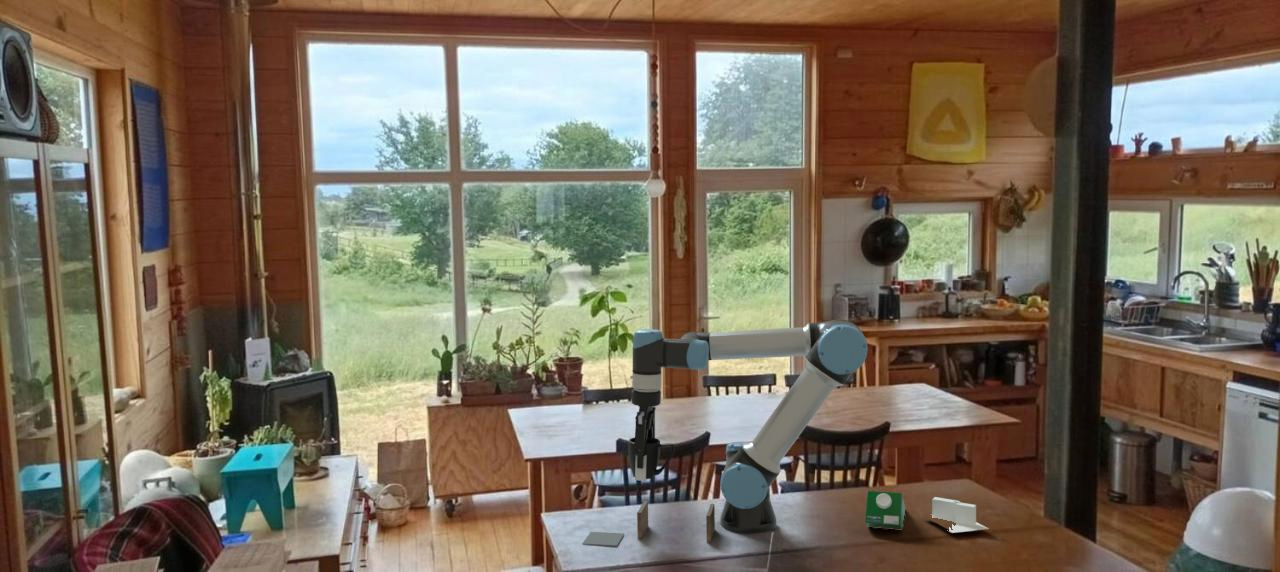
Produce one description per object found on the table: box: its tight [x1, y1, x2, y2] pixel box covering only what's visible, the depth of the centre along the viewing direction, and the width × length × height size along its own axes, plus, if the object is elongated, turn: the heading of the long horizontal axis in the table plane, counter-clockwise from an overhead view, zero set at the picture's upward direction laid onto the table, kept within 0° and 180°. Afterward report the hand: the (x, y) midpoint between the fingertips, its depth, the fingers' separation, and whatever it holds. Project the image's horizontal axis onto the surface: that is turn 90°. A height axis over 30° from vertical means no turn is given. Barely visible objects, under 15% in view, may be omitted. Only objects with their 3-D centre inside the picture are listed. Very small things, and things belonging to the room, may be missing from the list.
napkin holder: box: [931, 496, 989, 534], centre depth 247 cm, size 15×11×6 cm
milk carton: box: [865, 490, 907, 529], centre depth 252 cm, size 9×9×25 cm
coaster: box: [582, 531, 625, 548], centre depth 236 cm, size 9×9×1 cm
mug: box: [628, 437, 676, 480], centre depth 237 cm, size 8×12×10 cm
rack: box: [636, 500, 716, 544], centre depth 240 cm, size 19×10×7 cm, turn 79°
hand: (644, 475), depth 238 cm, fingers closed on mug, 8 cm apart
